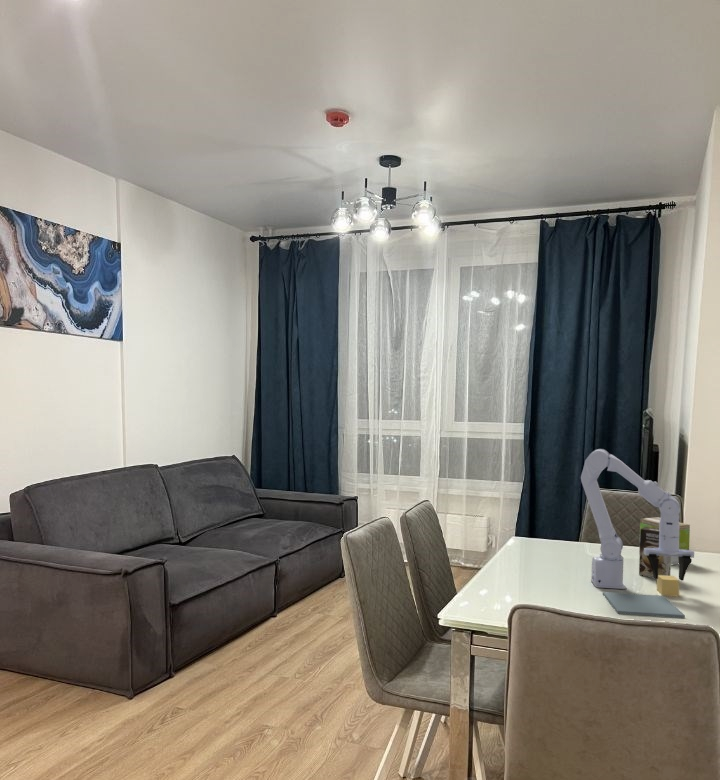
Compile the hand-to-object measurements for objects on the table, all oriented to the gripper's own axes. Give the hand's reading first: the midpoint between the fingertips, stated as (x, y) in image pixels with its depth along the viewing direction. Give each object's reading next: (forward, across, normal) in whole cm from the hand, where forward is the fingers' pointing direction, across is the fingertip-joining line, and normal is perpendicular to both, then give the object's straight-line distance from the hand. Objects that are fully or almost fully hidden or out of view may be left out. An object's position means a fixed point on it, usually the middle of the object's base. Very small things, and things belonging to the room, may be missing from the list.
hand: (668, 579), depth 209 cm
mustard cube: (+5, 0, 0) cm, 5 cm away
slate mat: (+4, -12, -15) cm, 20 cm away
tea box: (+5, +13, +46) cm, 48 cm away
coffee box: (+5, +2, +20) cm, 21 cm away
